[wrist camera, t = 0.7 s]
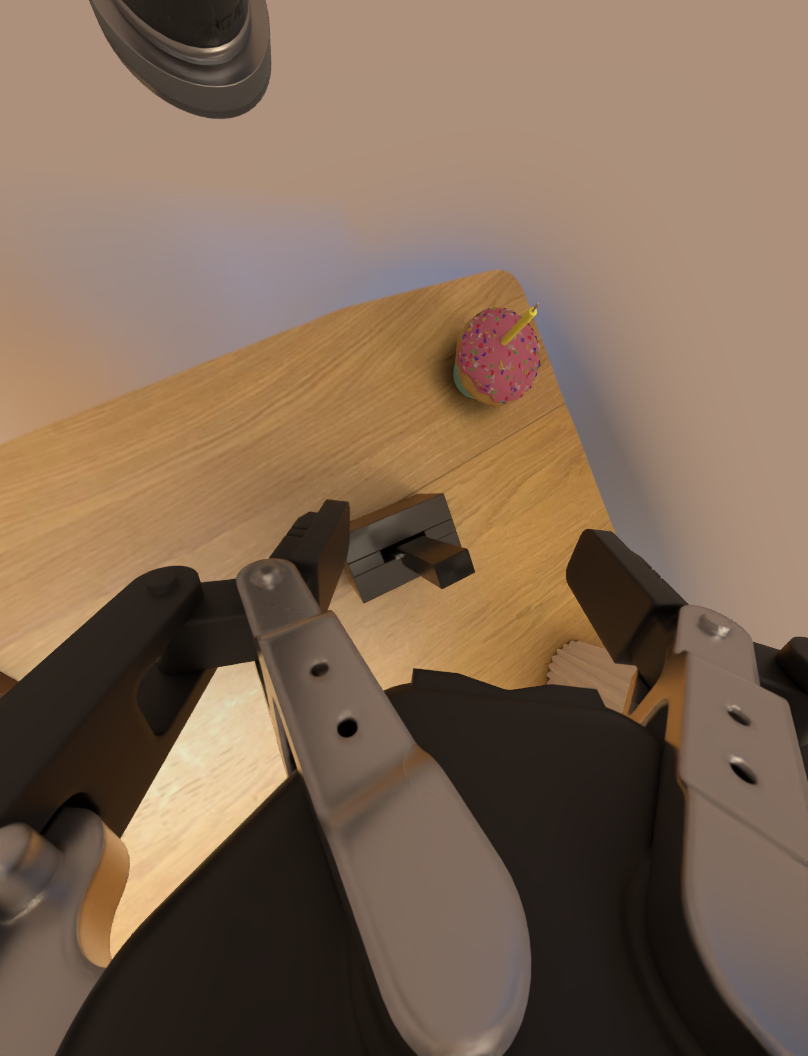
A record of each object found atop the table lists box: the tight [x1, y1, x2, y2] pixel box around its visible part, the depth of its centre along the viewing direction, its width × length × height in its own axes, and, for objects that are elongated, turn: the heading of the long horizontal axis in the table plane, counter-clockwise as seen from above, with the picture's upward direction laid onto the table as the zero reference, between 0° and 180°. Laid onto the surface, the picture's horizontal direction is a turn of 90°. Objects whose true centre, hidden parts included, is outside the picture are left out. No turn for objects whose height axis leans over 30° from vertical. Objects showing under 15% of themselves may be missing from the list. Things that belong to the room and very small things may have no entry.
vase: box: [546, 640, 637, 713], centre depth 31 cm, size 13×13×26 cm
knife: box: [381, 536, 475, 589], centre depth 26 cm, size 2×3×15 cm, turn 111°
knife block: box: [344, 493, 461, 603], centre depth 30 cm, size 6×10×6 cm, turn 111°
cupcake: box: [453, 303, 540, 407], centre depth 29 cm, size 9×8×12 cm
